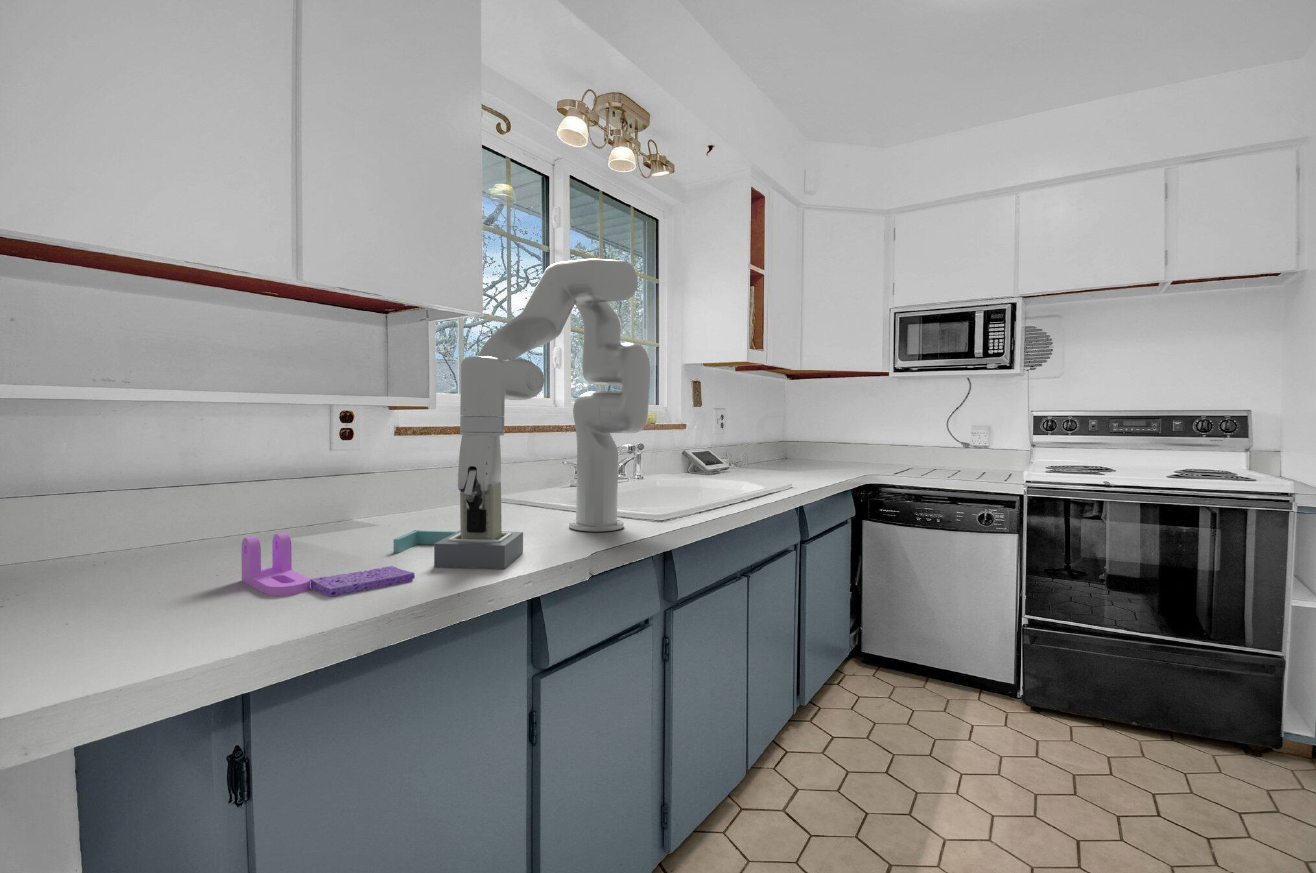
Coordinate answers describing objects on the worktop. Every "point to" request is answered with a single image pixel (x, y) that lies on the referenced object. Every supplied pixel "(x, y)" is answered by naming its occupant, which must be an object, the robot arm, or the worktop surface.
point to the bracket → (281, 573)
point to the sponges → (360, 581)
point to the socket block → (478, 551)
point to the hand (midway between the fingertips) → (481, 528)
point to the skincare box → (492, 514)
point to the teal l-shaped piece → (419, 539)
